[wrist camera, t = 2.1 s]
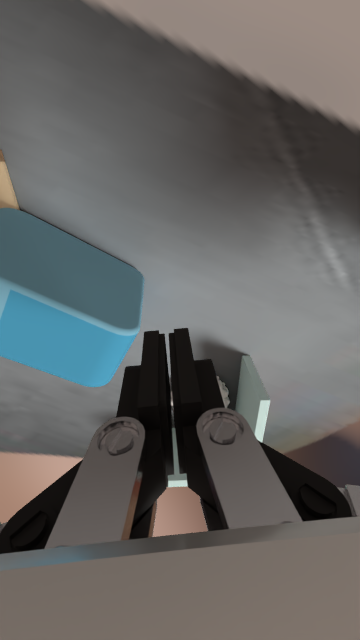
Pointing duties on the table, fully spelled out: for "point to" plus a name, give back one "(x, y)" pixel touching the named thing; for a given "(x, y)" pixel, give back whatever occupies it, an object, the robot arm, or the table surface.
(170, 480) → the mint corner bracket
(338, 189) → the table surface
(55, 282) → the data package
